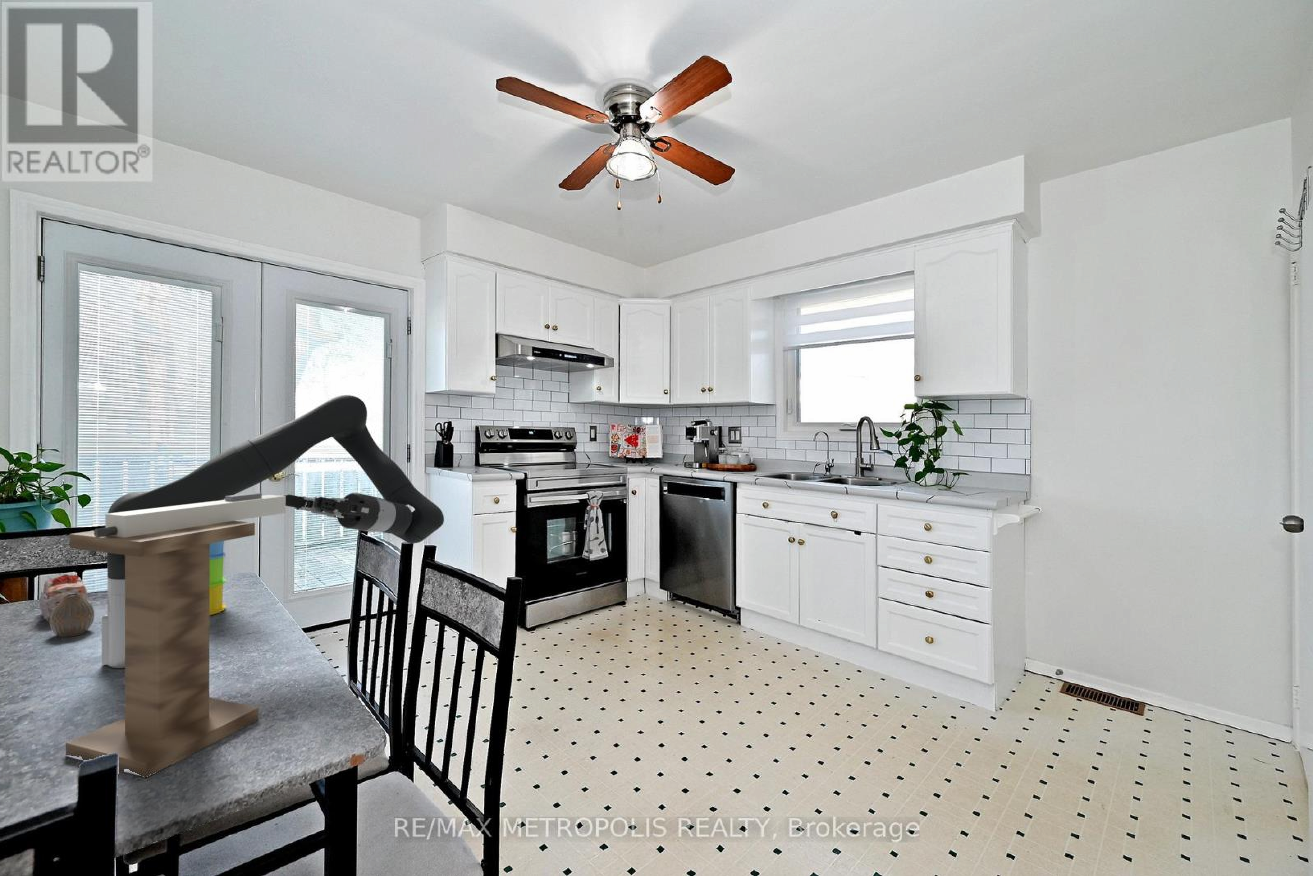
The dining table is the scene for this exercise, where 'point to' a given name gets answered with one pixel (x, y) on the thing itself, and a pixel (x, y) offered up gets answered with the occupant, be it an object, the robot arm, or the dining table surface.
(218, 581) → the stacking cups
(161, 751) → the stand
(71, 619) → the vase
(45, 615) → the food item
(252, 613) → the dining table surface
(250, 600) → the dining table surface
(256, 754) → the dining table surface
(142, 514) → the white long block
